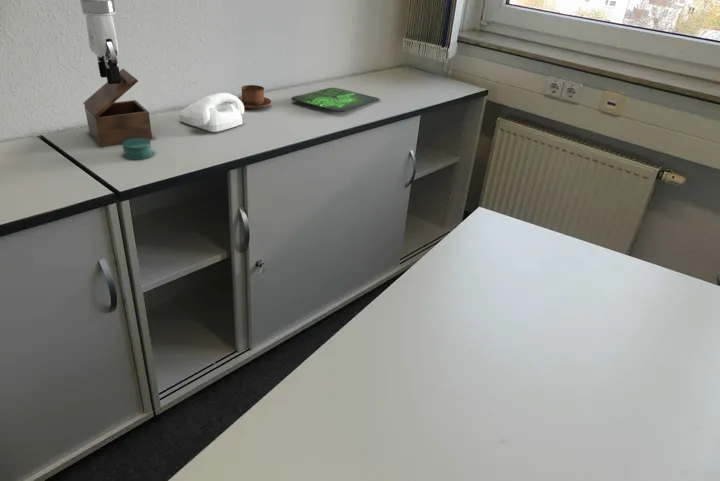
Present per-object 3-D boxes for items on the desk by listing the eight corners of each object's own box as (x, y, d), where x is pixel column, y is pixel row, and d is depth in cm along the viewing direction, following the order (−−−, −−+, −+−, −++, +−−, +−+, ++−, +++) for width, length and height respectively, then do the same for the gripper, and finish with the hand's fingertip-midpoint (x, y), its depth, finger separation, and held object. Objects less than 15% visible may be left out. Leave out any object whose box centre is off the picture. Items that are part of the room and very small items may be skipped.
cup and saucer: (227, 104, 181) (226, 85, 178) (256, 99, 189) (255, 81, 186) (249, 113, 174) (249, 94, 171) (278, 107, 183) (278, 89, 180)
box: (139, 126, 159) (135, 99, 155) (152, 138, 151) (148, 111, 147) (89, 133, 151) (84, 105, 147) (101, 147, 144) (95, 118, 140)
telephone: (253, 121, 169) (252, 91, 165) (205, 136, 154) (203, 103, 149) (216, 110, 176) (215, 81, 171) (167, 123, 161) (164, 92, 156)
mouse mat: (332, 88, 208) (332, 85, 207) (382, 99, 198) (382, 97, 198) (288, 100, 187) (288, 97, 186) (341, 114, 178) (341, 111, 177)
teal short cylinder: (120, 158, 138) (118, 146, 136) (129, 148, 144) (127, 137, 142) (147, 160, 139) (145, 148, 137) (155, 150, 144) (153, 138, 143)
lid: (125, 70, 150) (109, 53, 145) (138, 81, 142) (122, 63, 138) (85, 105, 147) (68, 89, 143) (96, 118, 140) (78, 101, 136)
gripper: (73, 1, 137) (87, 73, 147) (91, 13, 126) (105, 90, 135) (104, 1, 142) (115, 70, 151) (124, 12, 130) (135, 87, 139)
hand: (110, 79), depth 143 cm, fingers closed on lid, 6 cm apart
